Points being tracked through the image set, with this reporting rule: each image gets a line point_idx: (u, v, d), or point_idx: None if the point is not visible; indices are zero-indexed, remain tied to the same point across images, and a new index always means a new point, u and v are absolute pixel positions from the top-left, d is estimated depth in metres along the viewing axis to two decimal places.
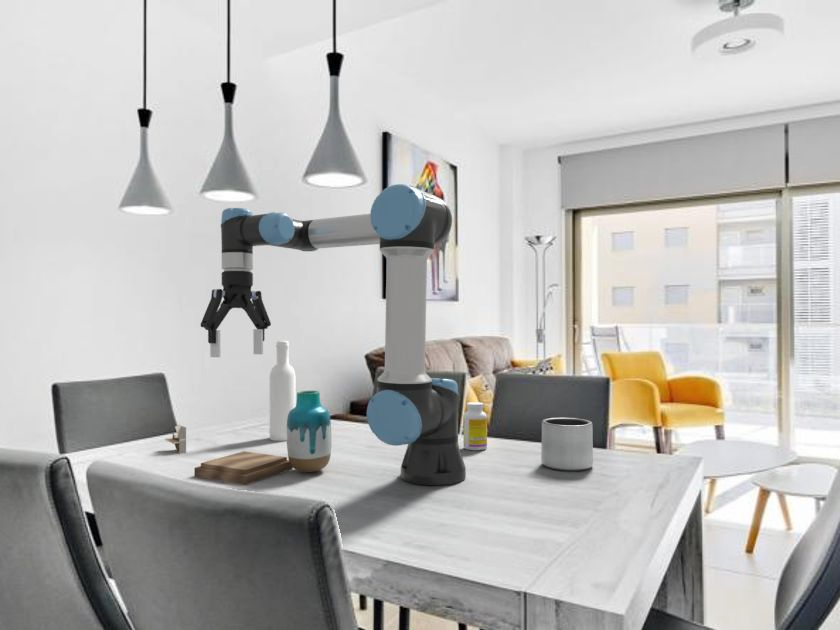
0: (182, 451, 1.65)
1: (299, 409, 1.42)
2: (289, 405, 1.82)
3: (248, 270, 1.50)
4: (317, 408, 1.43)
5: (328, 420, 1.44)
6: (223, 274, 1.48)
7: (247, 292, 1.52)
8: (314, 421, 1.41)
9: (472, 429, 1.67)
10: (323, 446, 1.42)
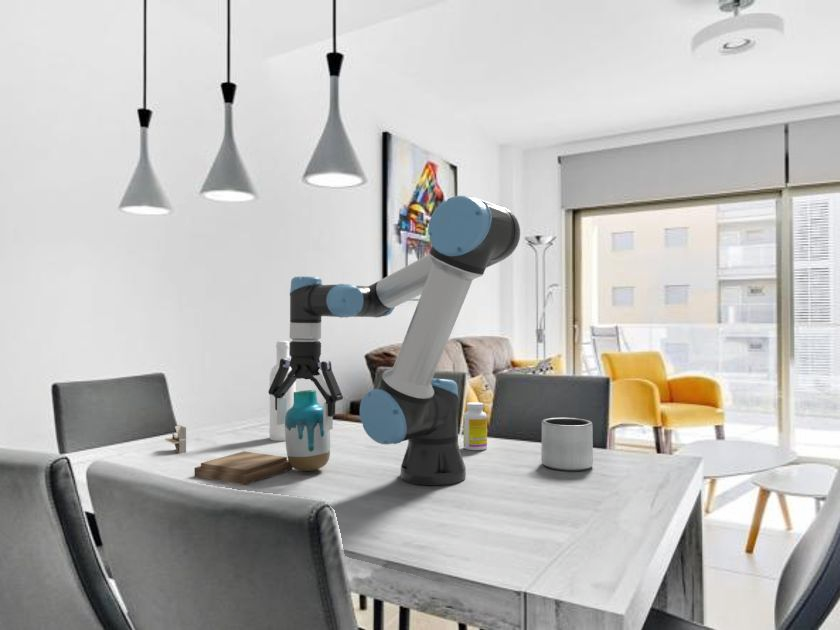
0: (182, 451, 1.65)
1: (296, 407, 1.43)
2: (289, 405, 1.82)
3: (300, 340, 1.43)
4: (314, 406, 1.44)
5: None
6: None
7: (309, 363, 1.44)
8: (312, 418, 1.42)
9: (472, 429, 1.67)
10: (322, 443, 1.42)
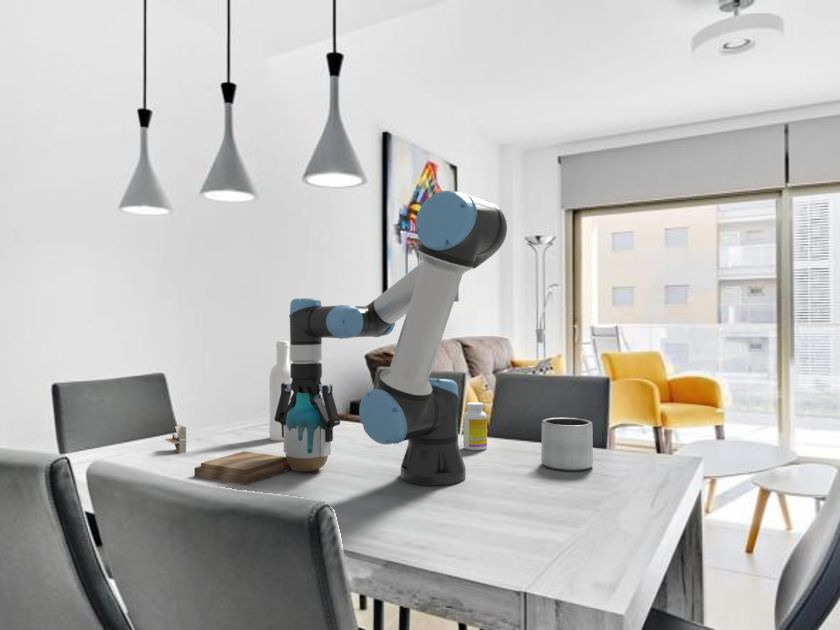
0: (182, 451, 1.65)
1: (298, 408, 1.43)
2: None
3: (301, 362, 1.43)
4: None
5: None
6: None
7: (311, 384, 1.44)
8: (313, 420, 1.41)
9: (472, 429, 1.67)
10: None
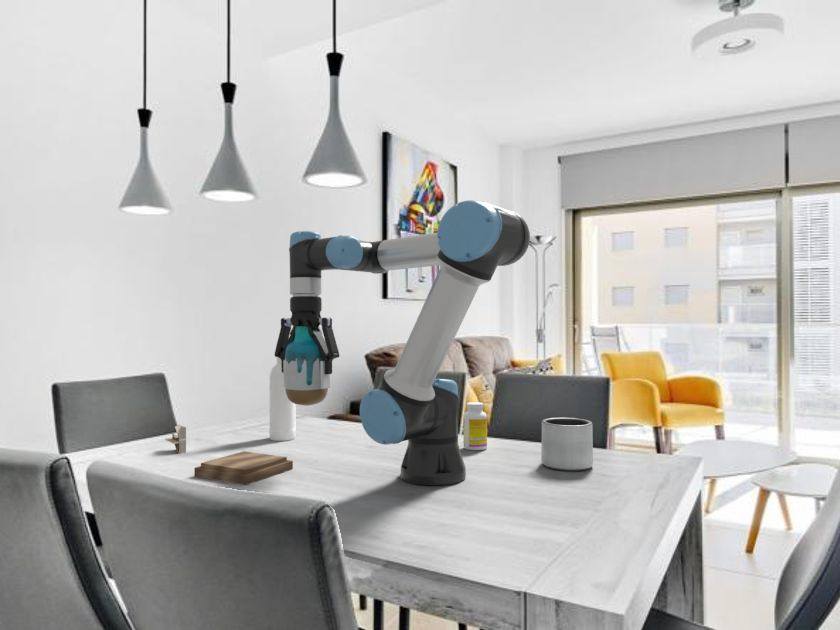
0: (182, 451, 1.65)
1: (297, 341, 1.43)
2: (289, 405, 1.82)
3: (300, 295, 1.43)
4: None
5: None
6: None
7: (310, 317, 1.44)
8: (312, 352, 1.42)
9: (472, 429, 1.67)
10: None
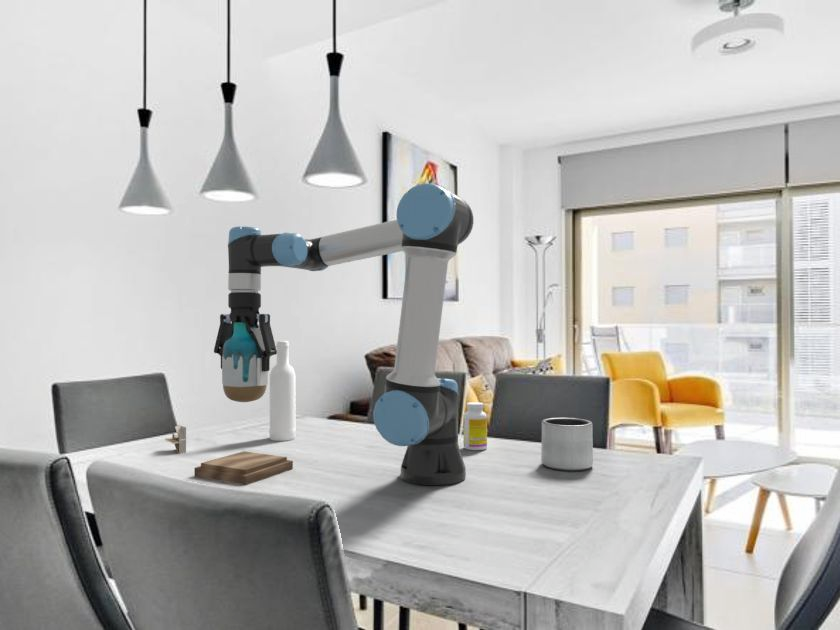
0: (182, 451, 1.65)
1: (234, 337, 1.42)
2: (289, 405, 1.82)
3: (238, 291, 1.41)
4: None
5: None
6: None
7: (248, 314, 1.42)
8: (248, 349, 1.40)
9: (472, 429, 1.67)
10: None
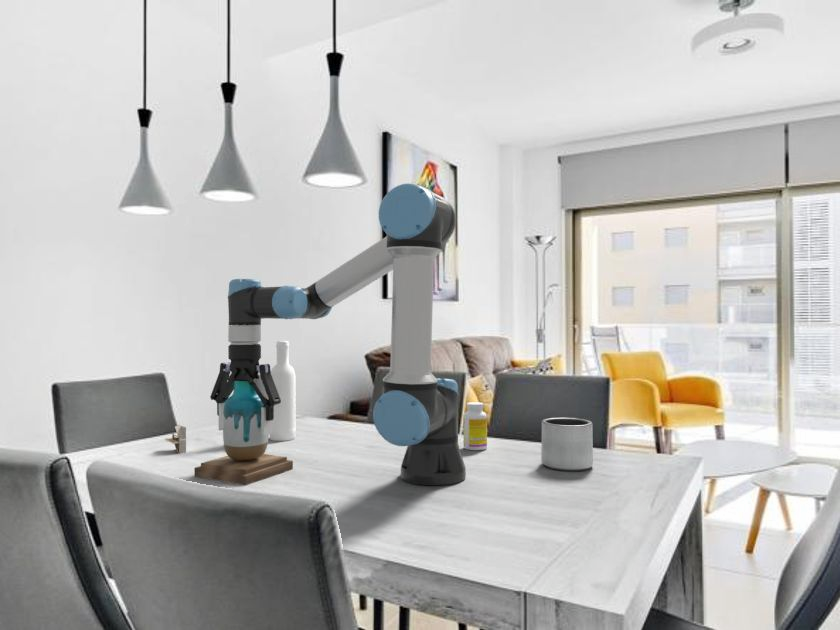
0: (182, 451, 1.65)
1: (235, 396, 1.42)
2: (289, 405, 1.82)
3: (238, 343, 1.41)
4: (254, 396, 1.43)
5: None
6: None
7: (248, 366, 1.42)
8: (249, 408, 1.40)
9: (472, 429, 1.67)
10: (258, 434, 1.41)
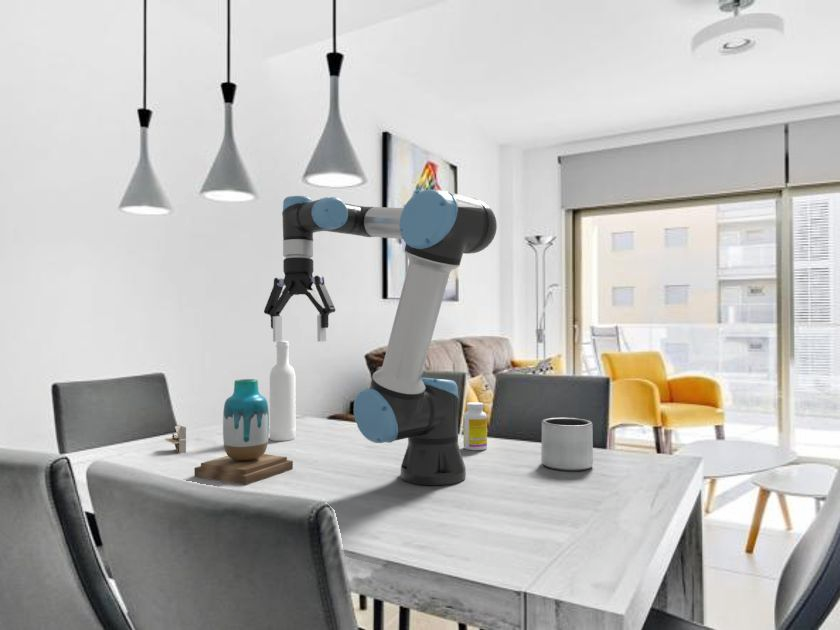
0: (182, 451, 1.65)
1: (235, 396, 1.42)
2: (289, 405, 1.82)
3: (294, 256, 1.50)
4: (254, 396, 1.43)
5: (265, 409, 1.43)
6: None
7: (303, 278, 1.51)
8: (249, 408, 1.40)
9: (472, 429, 1.67)
10: (258, 434, 1.41)
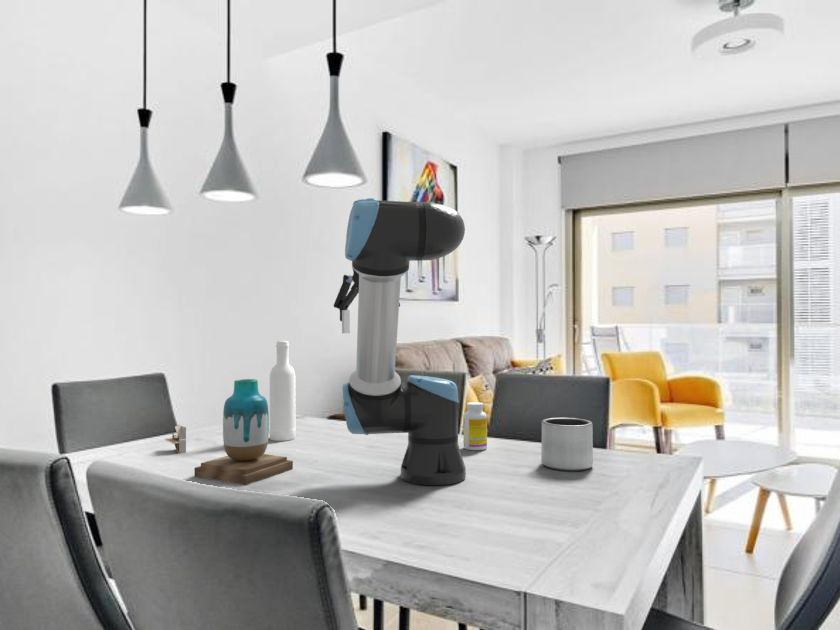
0: (182, 451, 1.65)
1: (235, 396, 1.42)
2: (289, 405, 1.82)
3: None
4: (254, 396, 1.43)
5: (265, 409, 1.43)
6: None
7: None
8: (249, 408, 1.40)
9: (472, 429, 1.67)
10: (258, 434, 1.41)
